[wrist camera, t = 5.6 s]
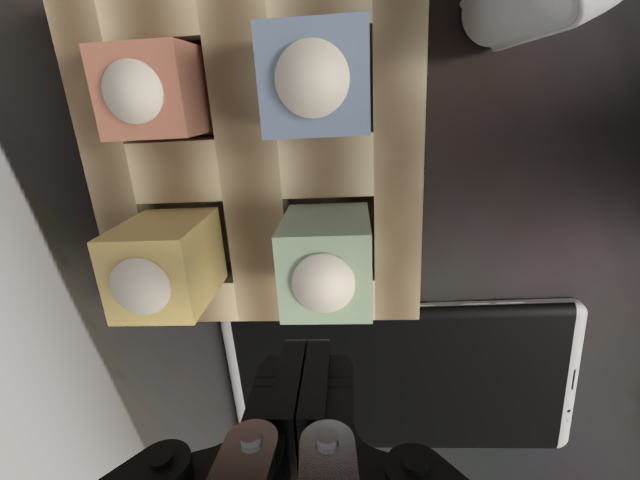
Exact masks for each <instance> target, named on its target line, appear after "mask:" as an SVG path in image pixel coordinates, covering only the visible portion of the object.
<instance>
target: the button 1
mask: <svg viewBox="0 0 640 480" xmlns="http://www.w3.org/2000/svg"><path fill="white" fill-rule="evenodd" d="M79 48H80V52H81V57H82V61H83V65H84V70H85V74H86V79H87V83H88V88H89V92H90V97H91V101H92V106H93V110H94V115H95V119H96V123H97V128H98V132H99V137H100V141H101V142H116V141H137V140H158V139H179V138H190V137H193V136H197V135H201V134H204V133H208V132H211V131H213V126H212V118H211V111H210V103H209V96H208V88H207V81H206V74H205V66H204V59H203V51H202V46H200V45H197V44H194V43H190V42H187V41H184V40H181V39H177V38H174V37H163V38H149V39H134V40H120V41H106V42H92V43H79Z"/></svg>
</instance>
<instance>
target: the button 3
mask: <svg viewBox="0 0 640 480" xmlns="http://www.w3.org/2000/svg"><path fill="white" fill-rule="evenodd" d="M251 30H252V40H253V51H254V61H255V71H256V82H257V92H258V102H259V113H260V123H261V133H262V140H281V139H302V138H324V137H345V136H366V135H371V114H370V28H369V11H364V12H350V13H337V14H323V15H309V16H295V17H281V18H267V19H254V20H251Z"/></svg>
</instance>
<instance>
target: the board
mask: <svg viewBox="0 0 640 480" xmlns="http://www.w3.org/2000/svg"><path fill="white" fill-rule="evenodd" d="M43 3H44V8H45V12H46V16H47V20H48V24H49V28H50V32H51V36H52V41H53V45H54V49H55V53H56V57H57V61H58V65H59V69H60V74H61V78H62V82H63V86H64V90H65V94H66V98H67V102H68V107H69V111H70V115H71V119H72V123H73V127H74V131H75V135H76V140H77V144H78V148H79V152H80V156H81V160H82V164H83V168H84V173H85V177H86V181H87V185H88V189H89V193H90V197H91V201H92V206H93V210H94V214H95V218H96V222H97V226H98V230H99V234H100V235H101V234H103V233H105V232H106V231H108V230H110V229H112V228H114V227H115V226H117V225H119V224H121V223H122V222H124V221H126V220H128V219H129V218H131V217H133V216H135V215H136V214H138V213H140V212H142V211H143V210H145V209H175V208H205V207H218V210H219V218H220V225H221V232H222V239H223V246H224V254H225V261H226V268H227V275H228V276H227V278H226V279H225V281H224V282H223V284H222V285H221V287H220V288H219V290H218V291H217V293H216V294H215V296H214V297H213V299H212V300H211V302H210V303H209V305H208V306H207V308H206V309H205V311H204V312H203V314H202V315H201V317H200V318H199V319H198V321H197V322H224V321H280V319H279V309H278V298H277V288H276V278H275V268H274V257H273V247H272V236H273V234H274V233H275V231H276V229H277V227H278V225H279V223H280V222H281V220H282V218H283V216H284V214H285V212H286V211H287V209H288V207H289V205H295V204H325V203H354V202H367V204H368V211H369V218H370V225H371V232H372V285H373V320H419V316H420V283H421V251H422V218H423V186H424V154H425V121H426V89H427V56H428V24H429V0H43ZM364 11H369V28H370V114H371V135H366V136H345V137H324V138H302V139H281V140H262V133H261V123H260V113H259V102H258V92H257V82H256V71H255V61H254V51H253V40H252V30H251V20H254V19H267V18H281V17H295V16H309V15H323V14H337V13H350V12H364ZM163 37H174V38H177V39H181V40H184V41H187V42H190V43H194V44H197V45H200V46H202V51H203V59H204V66H205V74H206V81H207V88H208V96H209V103H210V111H211V118H212V126H213V131H211V132H208V133H204V134H201V135H197V136H193V137H190V138H179V139H158V140H137V141H116V142H101V141H100V137H99V132H98V128H97V123H96V119H95V115H94V110H93V106H92V101H91V97H90V92H89V88H88V83H87V79H86V74H85V70H84V65H83V61H82V57H81V52H80V48H79V43H92V42H106V41H120V40H134V39H149V38H163Z"/></svg>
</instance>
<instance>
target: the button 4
mask: <svg viewBox="0 0 640 480" xmlns="http://www.w3.org/2000/svg"><path fill="white" fill-rule="evenodd" d="M272 247H273V257H274V268H275V278H276V288H277V298H278V309H279V319H280V325H318V324H373V285H372V232H371V225H370V218H369V211H368V204H367V202H354V203H325V204H295V205H289V207H288V209H287V211H286V212H285V214H284V216H283V218H282V220H281V222H280V223H279V225H278V227H277V229H276V231H275V233H274V234H273V236H272Z"/></svg>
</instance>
